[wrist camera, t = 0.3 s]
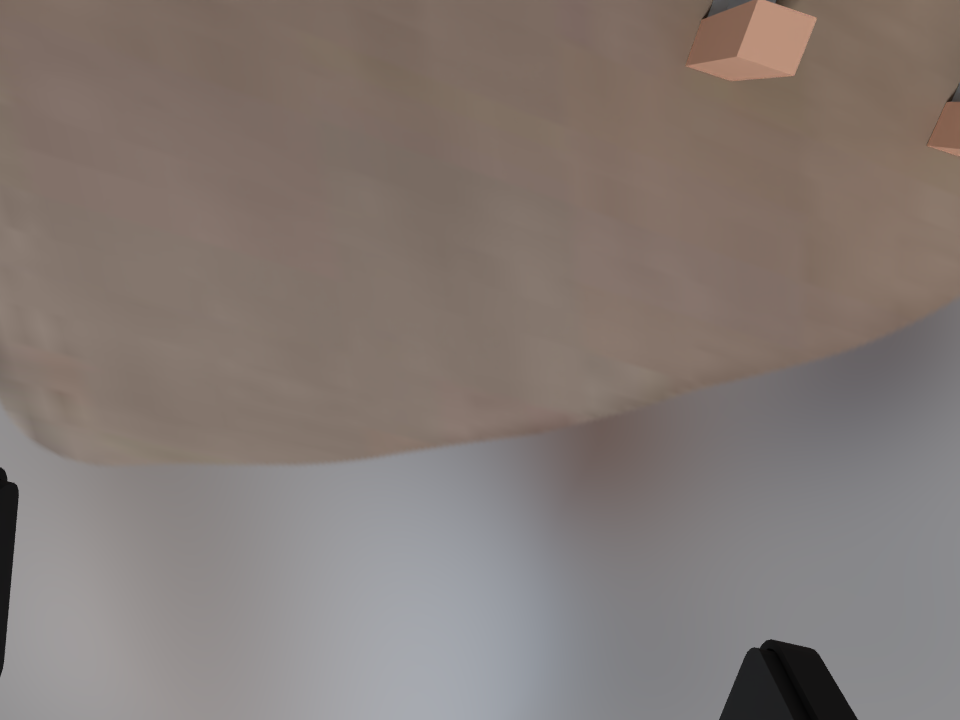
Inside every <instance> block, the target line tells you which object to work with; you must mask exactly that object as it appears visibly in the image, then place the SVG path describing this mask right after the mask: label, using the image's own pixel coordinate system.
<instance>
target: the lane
mask: <svg viewBox="0 0 960 720" xmlns="http://www.w3.org/2000/svg"><path fill="white" fill-rule="evenodd" d="M776 1H777V0H713V3H712V6H711V9H710V11H709V14H708V17H707V18H705V19H702V20H701V23H700V26H699V29H698V32H697V34H696V37H695V40H694V43H693V45H692V48H691V51H690V54H689V57H688V59H687V62H686V65H685V66H687V67H690V68H693V69H696V70H699V71H702V72H705V73H708V74H711V75H714V76H717V77H720V78H723V79H726V80H729V81H738V80H750V79H762V78H774V77H786V76H794V75H795V73H796V70H797V68H798V65H799V63H800V60H801V57H802V55H803V52H804V50H805V47H806V45H807V42H808V40H809V37H810V35H811V32H812V30H813V27H814V25H815V22H816V20H817V18H816V17H813V16H810V15H807V14H804V13H801V12H798V11H795V10H793V9H790V8H787V7H784V6H781V5H778V4H775V3H776ZM927 146H929V147H932V148H935V149H938V150H941V151H944V152H947V153H950V154H953V155H956V156H959V157H960V84H959V86H958V88H957V90H956V92H955V95H954V97H953V99H952V101H951V102H946V104H945V106H944V109H943V111H942V113H941V115H940V117H939V120H938V122H937V124H936V126H935V128H934V131H933V133H932V135H931V137H930V139H929V142H928V144H927Z"/></svg>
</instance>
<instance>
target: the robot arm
mask: <svg viewBox="0 0 960 720" xmlns="http://www.w3.org/2000/svg"><path fill="white" fill-rule="evenodd" d="M18 496H19V493H18V487H17V485H16V484H15V483H12V482H8V481H7V475H6V472H5V471H4V470H3V469H2V468H0V676H1V673H2V669H3V664H4V655H5V644H6V632H7V621H8V610H9V599H10V587H11V576H12V565H13V554H14V543H15V531H16V520H17V509H18V498H19V497H18ZM719 720H858V719H857V717H856V716H855V714H854V712H853V711H852V709H851V708H850V706H849V705H848V703H847V701H846V699H845V697H844V696H843V694H842V692H841V691H840V689H839V687H838V686H837V684H836V682H835V681H834V679H833V677H832V676H831V674H830V672H829V671H828V669H827V667H826V666H825V664H824V662H823V660H822V659H821V657H820V656H819V654H818V653H817V652H816V651H815V650H814V649H811V648H807V647H803V646H799V645H794V644H790V643H785V642H781V641H776V640H772V639H771V640H767V641H765V642H764V643H763V644H762V646H761V647H760V648H755V647H754V648H751V649H750V650H749V651H748V652H747V654H746V656H745V658H744V660H743V663H742V665H741V668H740V670H739V673H738V675H737V677H736V680H735V682H734V685H733V687H732V690H731V692H730V694H729V697H728V699H727V702H726V704H725V707H724V709H723V712H722V714H721V716H720V719H719Z"/></svg>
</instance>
